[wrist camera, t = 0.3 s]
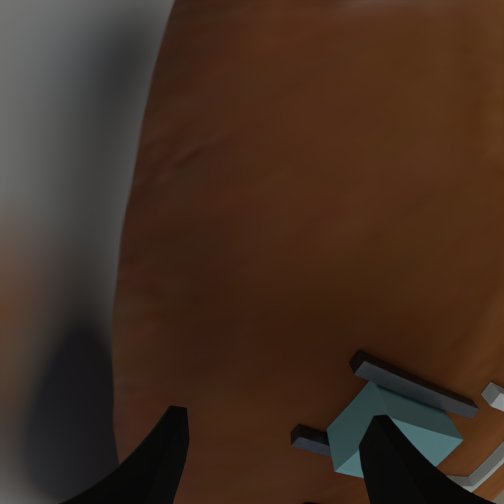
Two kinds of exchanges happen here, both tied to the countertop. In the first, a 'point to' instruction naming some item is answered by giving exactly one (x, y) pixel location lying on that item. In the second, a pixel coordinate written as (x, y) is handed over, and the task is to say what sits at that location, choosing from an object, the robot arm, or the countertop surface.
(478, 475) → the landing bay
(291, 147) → the countertop surface
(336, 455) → the teal block
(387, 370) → the parallel guide rails
